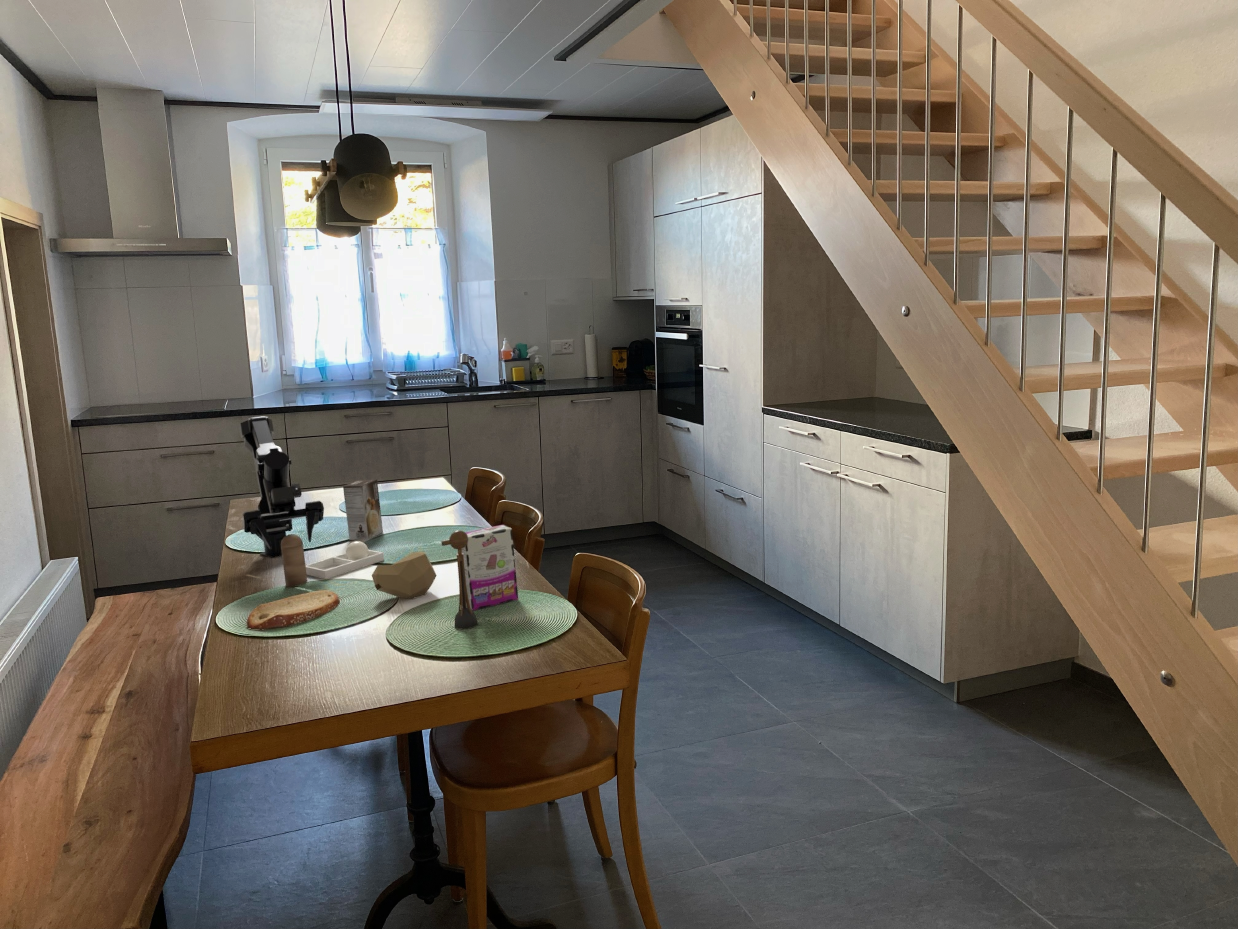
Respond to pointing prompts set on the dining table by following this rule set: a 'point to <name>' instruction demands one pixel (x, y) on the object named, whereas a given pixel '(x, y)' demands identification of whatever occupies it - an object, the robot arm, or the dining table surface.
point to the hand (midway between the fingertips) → (290, 544)
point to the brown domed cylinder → (293, 560)
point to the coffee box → (363, 509)
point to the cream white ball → (356, 551)
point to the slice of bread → (292, 610)
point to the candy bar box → (490, 567)
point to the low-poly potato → (405, 576)
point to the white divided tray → (341, 565)
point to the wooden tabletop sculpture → (462, 582)
